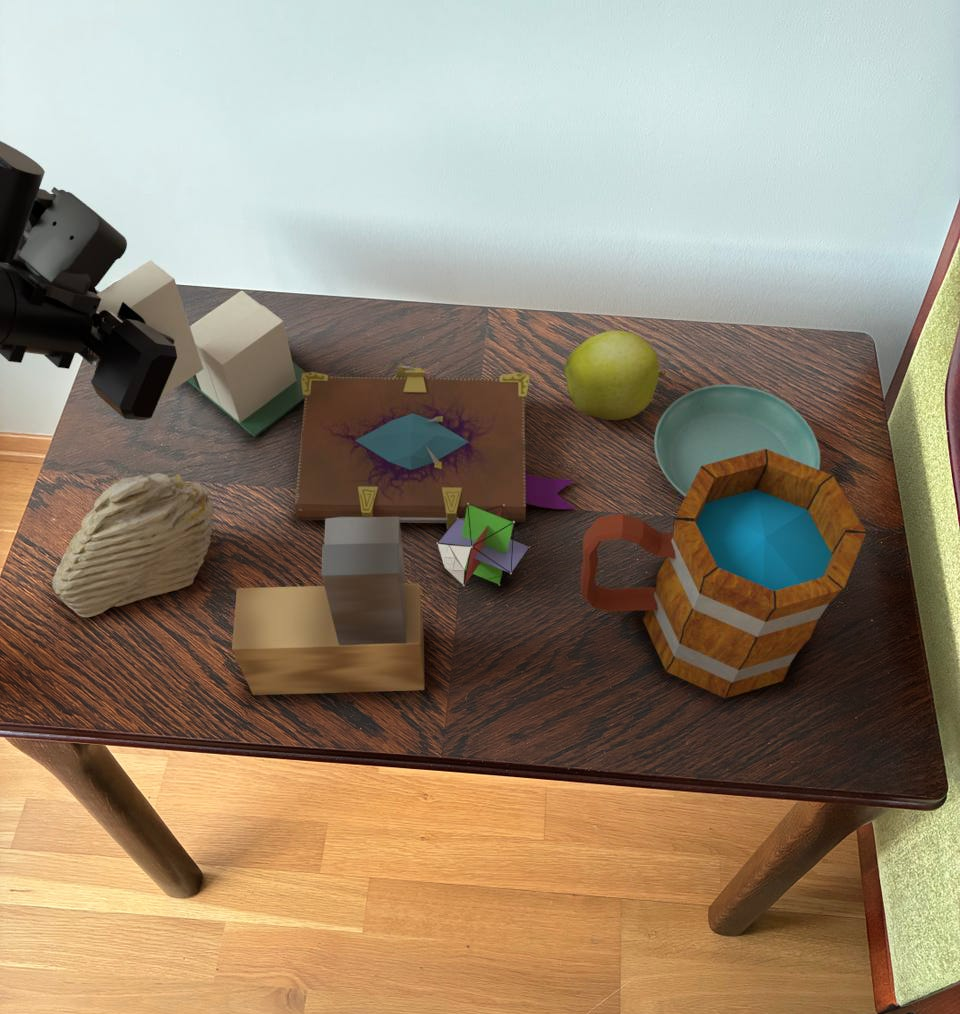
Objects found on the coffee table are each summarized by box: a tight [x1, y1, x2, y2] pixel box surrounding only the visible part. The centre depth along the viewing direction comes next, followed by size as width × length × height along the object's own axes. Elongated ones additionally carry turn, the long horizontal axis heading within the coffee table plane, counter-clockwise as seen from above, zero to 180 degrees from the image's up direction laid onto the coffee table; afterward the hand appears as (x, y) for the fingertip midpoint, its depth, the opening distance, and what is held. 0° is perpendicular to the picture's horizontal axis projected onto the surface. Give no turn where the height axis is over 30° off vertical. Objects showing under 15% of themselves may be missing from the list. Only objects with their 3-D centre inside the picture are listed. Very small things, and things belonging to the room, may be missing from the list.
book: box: [294, 362, 576, 531], centre depth 91 cm, size 16×25×5 cm, turn 90°
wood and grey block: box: [231, 517, 426, 696], centre depth 75 cm, size 14×5×18 cm, turn 92°
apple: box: [563, 330, 666, 421], centre depth 92 cm, size 8×9×8 cm
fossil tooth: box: [51, 472, 214, 618], centre depth 82 cm, size 12×6×15 cm
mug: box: [580, 449, 867, 699], centre depth 79 cm, size 20×14×15 cm
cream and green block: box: [186, 290, 307, 439], centre depth 93 cm, size 8×10×8 cm
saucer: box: [653, 383, 821, 498], centre depth 92 cm, size 15×15×3 cm
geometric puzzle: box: [436, 503, 531, 587], centre depth 85 cm, size 7×7×8 cm
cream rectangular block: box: [96, 259, 203, 401], centre depth 83 cm, size 7×3×10 cm, turn 137°
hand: (158, 334), depth 83 cm, fingers closed on cream rectangular block, 3 cm apart
